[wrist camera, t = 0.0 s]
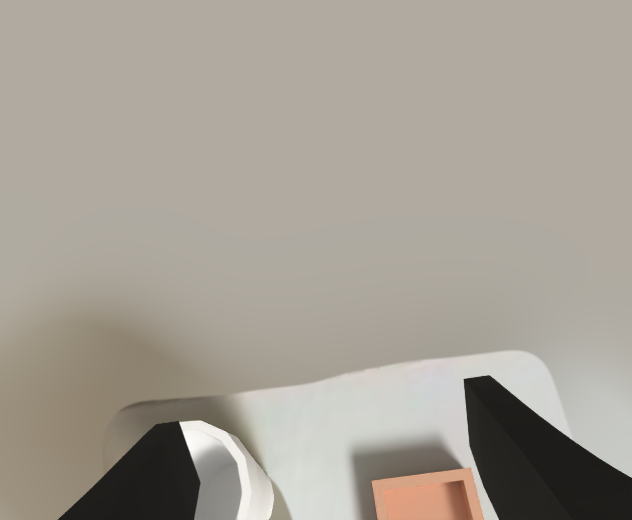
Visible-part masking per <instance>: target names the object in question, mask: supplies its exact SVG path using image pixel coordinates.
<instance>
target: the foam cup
mask: <svg viewBox="0 0 632 520" xmlns="http://www.w3.org/2000/svg"><path fill="white" fill-rule="evenodd" d="M179 423H180V426H181V428H182V431H183V434H184V437H185V440H186V443H187V445H188V448H189V451H190V454H191V457H192V460H193V462H194V465H195V468H196V471H197V474H198V476H199V479H200V482H201V483H200V489H199V495H198V502H197V507H196V512H195V517H194V520H268V519H269V518H270V516H271V512H272V507H273V501H274V494H273V490H272V485H271V481H270V479H269V478H268V477H267V475H266V474H265V473H264V471H263V470H262V468H261V467H260V466H259V465H258V464H257V463H256V462H255V460H254V459H253V458H252V456H251V455H250V454H249V452H248V451H247V450H246V448H245V447H244V446H243V444H242V443H241V441H240V440H239V439H238V437H236V436H234V435H232V434H230V433H227V432H225V431H223V430H221V429H219V428H216V427H214V426H212V425H210V424H208V423H205V422H203V421H201V420H199V421H187V422H179Z"/></svg>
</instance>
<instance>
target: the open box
mask: <svg viewBox="0 0 632 520" xmlns="http://www.w3.org/2000/svg"><path fill="white" fill-rule="evenodd" d="M372 487H373V493H374V500H375V506H376V513H377V519H378V520H484V517H483V513H482V509H481V506H480V502H479V498H478V494H477V490H476V486H475V482H474V478H473V474H472V470H471V468H464V469H456V470H449V471H441V472H433V473H426V474H418V475H411V476H403V477H396V478H388V479H380V480H373V481H372Z"/></svg>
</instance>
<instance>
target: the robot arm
mask: <svg viewBox="0 0 632 520" xmlns="http://www.w3.org/2000/svg"><path fill="white" fill-rule="evenodd" d="M464 389H465V400H466V411H467V422H468V433H469V444H470V448H471V451H472V454H473V457H474V460H475V463H476V466H477V469H478V472H479V475H480V478H481V480H482V483H483V486H484V488H485V490H486V493H487V495H488V497H489V499H490V501H491V503H492V505H493V508H494V510H495V512H496V514H497V516H498V518H499V520H632V478H631V477H629V476H627V475H626V474H624V473H622V472H621V471H619V470H617V469H615V468H614V467H612V466H610V465H609V464H607V463H606V462H604V461H602V460H601V459H599V458H598V457H596V456H595V455H593V454H592V453H590V452H589V451H587V450H586V449H584V448H583V447H581V446H580V445H579V444H577V443H576V442H574V441H573V440H571V439H570V438H569V437H567V436H566V435H564V434H563V433H562V432H560V431H559V430H558V429H556V428H555V427H554V426H552V425H551V424H550V423H548V422H547V421H546V420H544V419H543V418H542V417H540V416H539V415H538V414H536V413H535V412H534V411H533V410H531V409H530V408H529V407H528V406H526V405H525V404H524V403H523V402H521V401H520V400H519V399H518V398H516V397H515V396H514V395H513V394H512V393H510V392H509V391H508V390H507V389H506V388H504V387H503V386H502V385H501V384H500V383H498V382H497V381H496V380H495V379H493V378H492V377H491V376H489V375H487V376H481V377H474V378H467V379H464ZM200 483H201V482H200V479H199V476H198V474H197V471H196V468H195V465H194V462H193V460H192V457H191V454H190V451H189V448H188V445H187V443H186V440H185V437H184V434H183V431H182V428H181V426H180V423H179V421H176V422H169V423H162V424H156V425H155V426H154V427H153V428H152V429H150V430H149V431H148V432H147V433H146V434H145V435H144V436H143V437H142V438H141V439H140V440H139V441H138V442H137V443H136V444H135V445H134V446H133V447H132V448H131V449H130V450H129V451H128V452H127V453H126V454H125V455H124V456H123V457H122V458H121V459H120V460H119V461H118V462H117V463H116V464H115V465H114V466H113V467H112V468H111V469H110V470H109V471H108V472H107V473H106V474H105V475H104V476H103V477H102V478H101V479H100V480H99V481H98V482H97V483H96V484H95V485H94V486H93V487H92V488H91V489H90V490H89V491H88V492H87V493H86V494H85V495H84V496H83V497H82V498H81V499H80V500H79V501H77V502H76V503H75V504H74V505H73V506H72V507H71V508H70V509H69V510H68V511H67V512H66V513H65V514H63V515H62V516H61V517H60V518H59V519H58V520H194V517H195V512H196V507H197V502H198V495H199V489H200Z"/></svg>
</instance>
